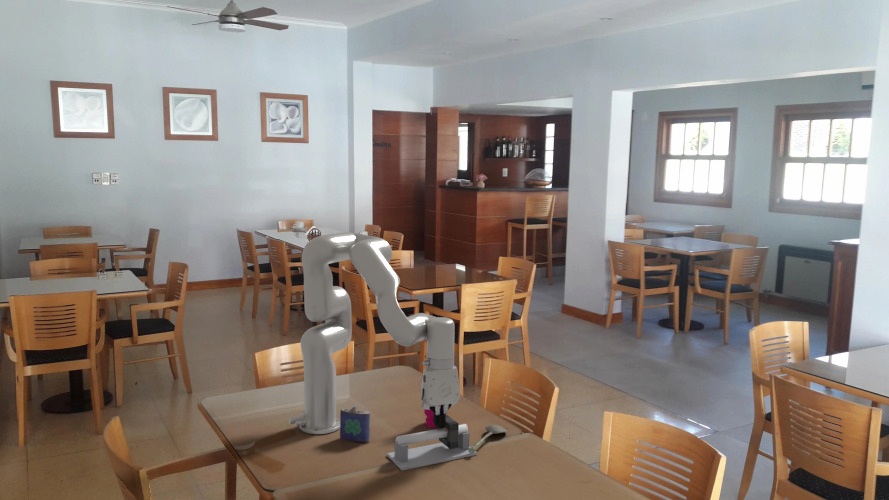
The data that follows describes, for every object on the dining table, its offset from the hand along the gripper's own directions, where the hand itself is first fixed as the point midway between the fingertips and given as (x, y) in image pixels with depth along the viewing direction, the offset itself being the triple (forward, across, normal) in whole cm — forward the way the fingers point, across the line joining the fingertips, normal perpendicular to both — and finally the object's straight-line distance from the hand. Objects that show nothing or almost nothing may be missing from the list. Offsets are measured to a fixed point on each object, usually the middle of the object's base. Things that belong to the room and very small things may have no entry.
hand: (439, 426), depth 188 cm
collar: (+6, +3, 0) cm, 6 cm away
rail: (+8, -2, 0) cm, 8 cm away
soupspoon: (+8, +16, +1) cm, 18 cm away
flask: (+8, -18, +19) cm, 28 cm away
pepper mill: (+8, +9, +20) cm, 23 cm away
